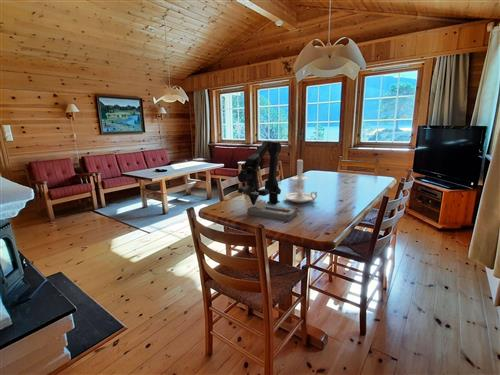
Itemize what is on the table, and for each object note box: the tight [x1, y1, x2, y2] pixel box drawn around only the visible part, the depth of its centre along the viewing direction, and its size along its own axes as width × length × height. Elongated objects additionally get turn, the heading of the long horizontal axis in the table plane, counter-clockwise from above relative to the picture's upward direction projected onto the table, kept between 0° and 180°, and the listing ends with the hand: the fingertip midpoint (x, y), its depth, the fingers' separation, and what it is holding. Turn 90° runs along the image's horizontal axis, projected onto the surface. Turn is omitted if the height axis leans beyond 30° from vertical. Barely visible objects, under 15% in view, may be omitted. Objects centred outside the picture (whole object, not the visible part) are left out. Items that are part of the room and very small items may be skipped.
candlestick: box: [283, 159, 319, 204], centre depth 175 cm, size 21×25×28 cm
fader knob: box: [255, 199, 267, 209], centre depth 157 cm, size 4×4×5 cm
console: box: [246, 204, 298, 222], centre depth 154 cm, size 12×26×3 cm, turn 58°
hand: (253, 205), depth 160 cm, fingers closed
